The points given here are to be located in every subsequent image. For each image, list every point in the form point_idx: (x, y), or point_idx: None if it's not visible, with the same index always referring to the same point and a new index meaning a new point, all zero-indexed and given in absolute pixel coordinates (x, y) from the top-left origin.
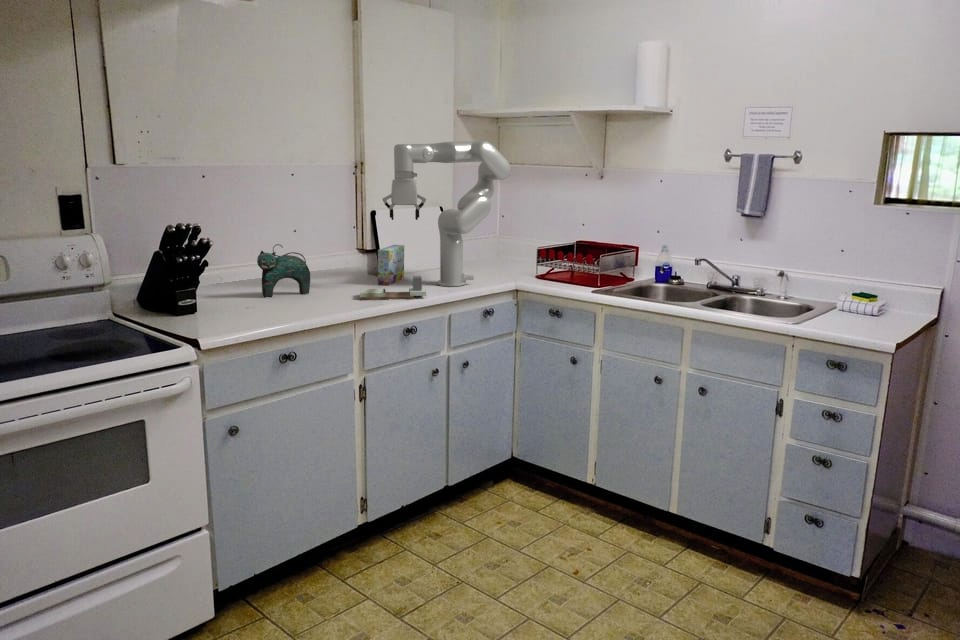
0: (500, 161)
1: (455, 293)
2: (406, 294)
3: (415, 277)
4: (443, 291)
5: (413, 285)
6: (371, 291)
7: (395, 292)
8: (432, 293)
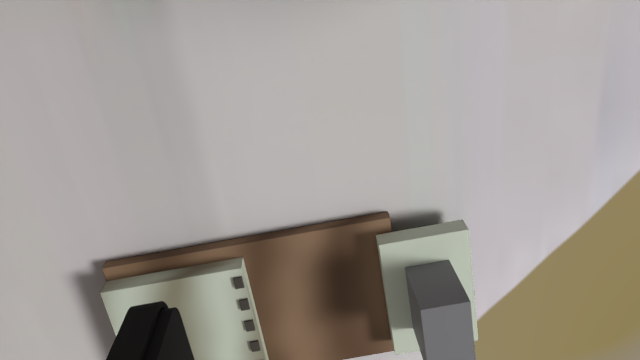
0: None
1: (634, 166)
2: (367, 297)
3: (438, 357)
4: (571, 109)
5: (414, 314)
6: None
7: (299, 250)
8: (503, 178)
